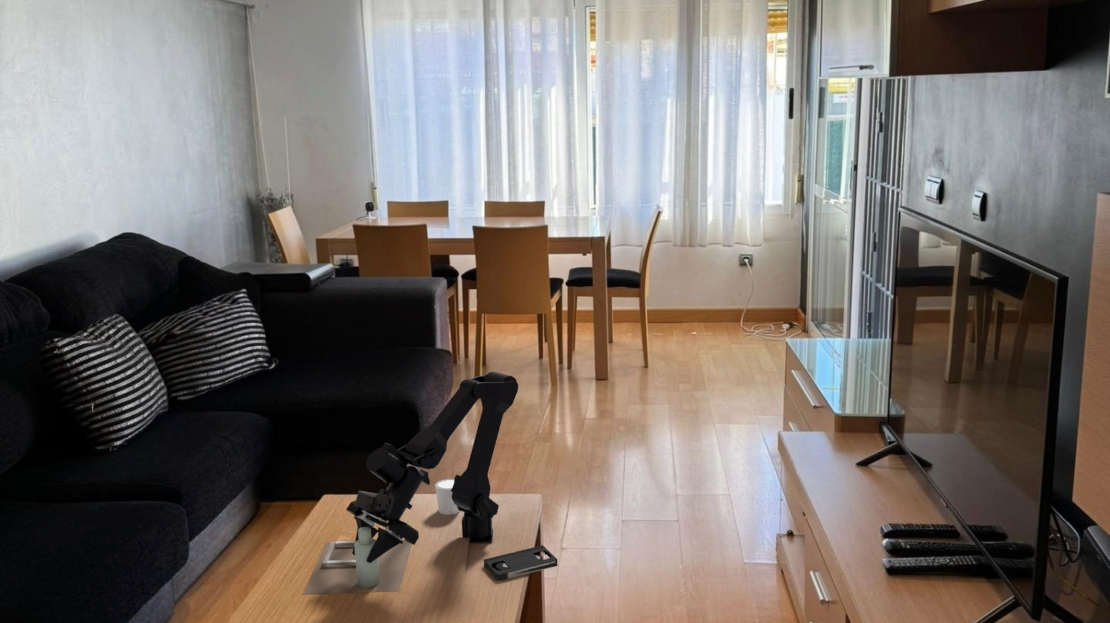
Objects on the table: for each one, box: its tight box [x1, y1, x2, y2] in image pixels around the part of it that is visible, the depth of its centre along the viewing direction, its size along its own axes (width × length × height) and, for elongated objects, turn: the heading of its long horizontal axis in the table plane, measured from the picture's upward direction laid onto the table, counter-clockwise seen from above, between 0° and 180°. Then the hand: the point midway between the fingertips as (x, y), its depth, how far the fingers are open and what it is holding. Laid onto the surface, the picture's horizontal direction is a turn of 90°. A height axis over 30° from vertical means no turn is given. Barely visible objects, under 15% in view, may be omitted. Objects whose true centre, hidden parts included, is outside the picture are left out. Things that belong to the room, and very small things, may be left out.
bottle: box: [354, 527, 380, 588], centre depth 207 cm, size 5×5×12 cm
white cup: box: [434, 478, 461, 516], centre depth 245 cm, size 7×7×7 cm
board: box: [301, 539, 413, 596], centre depth 216 cm, size 20×24×2 cm
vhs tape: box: [483, 544, 559, 582], centre depth 216 cm, size 14×8×2 cm, turn 116°
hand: (361, 558), depth 206 cm, fingers closed on bottle, 5 cm apart
